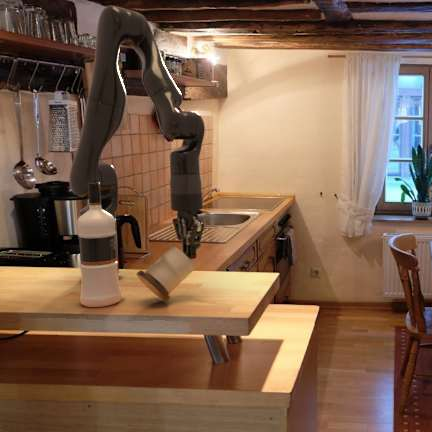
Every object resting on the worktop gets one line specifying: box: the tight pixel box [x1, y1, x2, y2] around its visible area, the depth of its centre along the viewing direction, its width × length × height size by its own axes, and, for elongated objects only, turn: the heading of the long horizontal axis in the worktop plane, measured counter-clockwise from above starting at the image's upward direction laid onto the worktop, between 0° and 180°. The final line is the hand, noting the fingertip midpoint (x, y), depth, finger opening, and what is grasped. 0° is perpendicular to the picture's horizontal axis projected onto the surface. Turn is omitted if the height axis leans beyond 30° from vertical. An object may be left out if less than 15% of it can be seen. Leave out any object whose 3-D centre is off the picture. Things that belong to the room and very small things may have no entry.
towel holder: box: [135, 241, 202, 303], centre depth 142 cm, size 10×16×10 cm
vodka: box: [76, 182, 123, 308], centre depth 137 cm, size 9×9×30 cm
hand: (189, 257), depth 145 cm, fingers closed, pressing on towel holder
